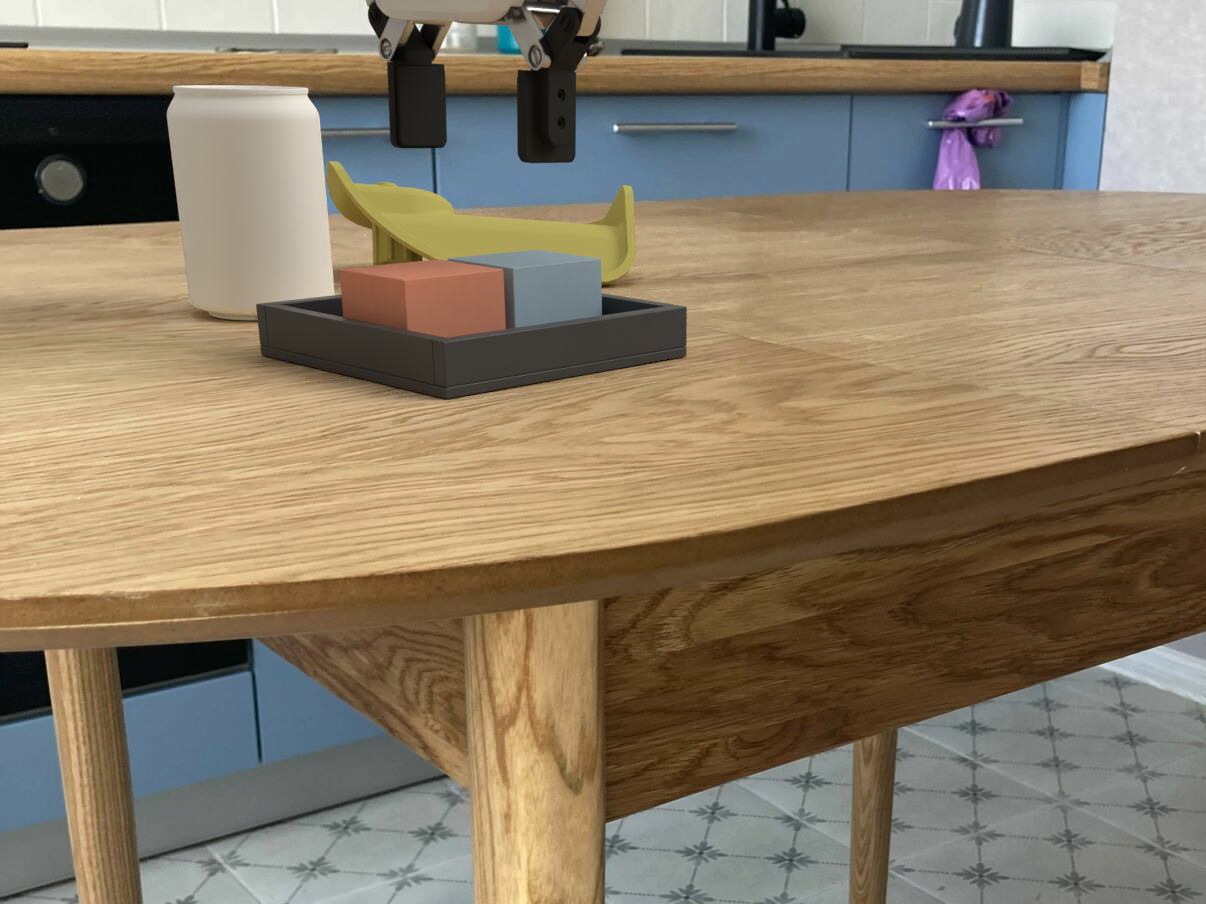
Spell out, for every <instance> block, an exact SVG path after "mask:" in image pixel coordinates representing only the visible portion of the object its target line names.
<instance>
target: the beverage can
mask: <svg viewBox="0 0 1206 904" xmlns="http://www.w3.org/2000/svg"><path fill="white" fill-rule="evenodd" d="M172 92H173V93H174V95H173V98H172V100H171V101H170V103H169V105H168V107H167V111H166V121H167V129H168V139H169V145H170V153H171V154H170V155H171V162H172V168H173V169H172V170H173V178H174V187H175V194H176V203H177V212H178V221H179V228H180V235H181V243H182V253H183V261H184V268H185V269H184V270H185V276H186V284H187V285H186V286H187V293H188V294H187V295H188V300H189V303H190V304H191V306H193V307H194V308H196V309H198V310H201V311H204V312H207V313H208V315H209V316H211V317H212V318H218V319H223V320H224V319H225V320H232V321H258V319H257V309H256V304H260V303H269V302H278V301H287V300H296V299H305V298H314V297H323V296H332V295H336V294H335V283H334V282H335V281H334V273H333V271H334V270H333V261H332V260H333V259H332V248H331V247H332V246H331V237H330V235H331V234H330V226H329V225H330V224H329V213H328V200H327V199H328V198H327V189H326V187H327V186H326V175H325V165H324V153H323V142H322V141H323V140H322V130H321V119H320V113H319V111H318V109H317V107H316V106H315V105H314V103H313V102H312V100H311V99H310V98H309V95H308V94H309V88H308V87H303V86H283V85H235V84H234V85H231V84H229V85H228V84H227V85H226V84H223V85H222V84H220V85H218V84H216V85H215V84H212V85H211V84H210V85H209V84H207V85H206V84H200V85H199V84H198V85H197V84H195V85H193V84H192V85H191V84H189V85H173V86H172Z"/></svg>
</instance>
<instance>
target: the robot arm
mask: <svg viewBox="0 0 1206 904" xmlns="http://www.w3.org/2000/svg"><path fill="white" fill-rule="evenodd" d="M607 1H608V0H365V3H366V6H367V8H368V9H367V18H368V22H369V24H370V26H371V28H372V30H373V32H374V33H375V35H376V37H377V38H378V40H379V41H378V47H377V48H378V54H379V57H380V59H381V60H382V61H384V62H386V68H387V91H388V92H387V93H388V94H387V95H388V119H389V123H388V124H389V140H390V144H391V146H392V147H394V148H396V149H397V148H398V149H443V148H445V146H446V144H447V142H448V132H447V131H448V128H447V127H448V125H447V91H446V71H445V69H446V68H445V63H434V61H435V60H436V58H437V55H438V54H439V51H440V50H441V48H442V46H443V43H444V41H445V39H446V36H447V34H448V32H449V30H450V28H451V26H452V24H453V23H457V24H464V25H465V24H467V25H485V26H508V29H509V31H510V33H511V34H512V37H513V38H514V40H515V42H516V44H517V47H518V48H519V50H520V52H521V54H522V57H523V58H524V60H525V62H526V64H527V66H528V67H529V69H517V76H516V124H517V125H516V128H517V130H516V131H517V133H516V135H517V136H516V137H517V138H516V139H517V141H516V143H517V156H518V158H519V160H520V161H521V162H522V163H526V164H567V163H568V164H569V163H572V162H573V161H575V158H576V154H577V153H576V149H577V147H576V145H577V142H576V141H577V140H576V139H577V135H576V134H577V73H582V72H583V71H584V70H585V68H586V66H587V62H588V56H587V52H588V51H589V49H590V48H591V46H592V45H593V43H594V42H595V40H596V38H597V37H598V35H599V34H600V31H601V29H602V18H601V15H603V14H604V10H605V7H606V4H607ZM417 25H422V26H421V28H420V29H419V28H418V26H417ZM542 30H544V31H545V34H543V31H542Z"/></svg>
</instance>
